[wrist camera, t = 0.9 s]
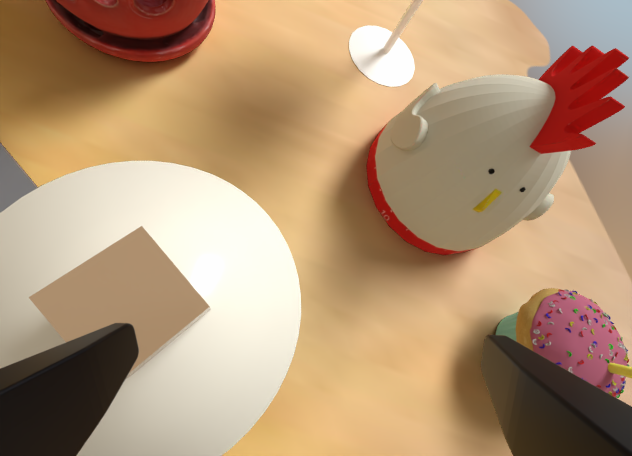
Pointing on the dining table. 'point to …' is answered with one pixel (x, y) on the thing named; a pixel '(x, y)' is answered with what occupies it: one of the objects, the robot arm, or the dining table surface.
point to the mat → (12, 180)
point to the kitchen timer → (487, 150)
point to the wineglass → (384, 51)
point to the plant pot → (138, 25)
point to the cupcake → (572, 337)
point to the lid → (156, 298)
